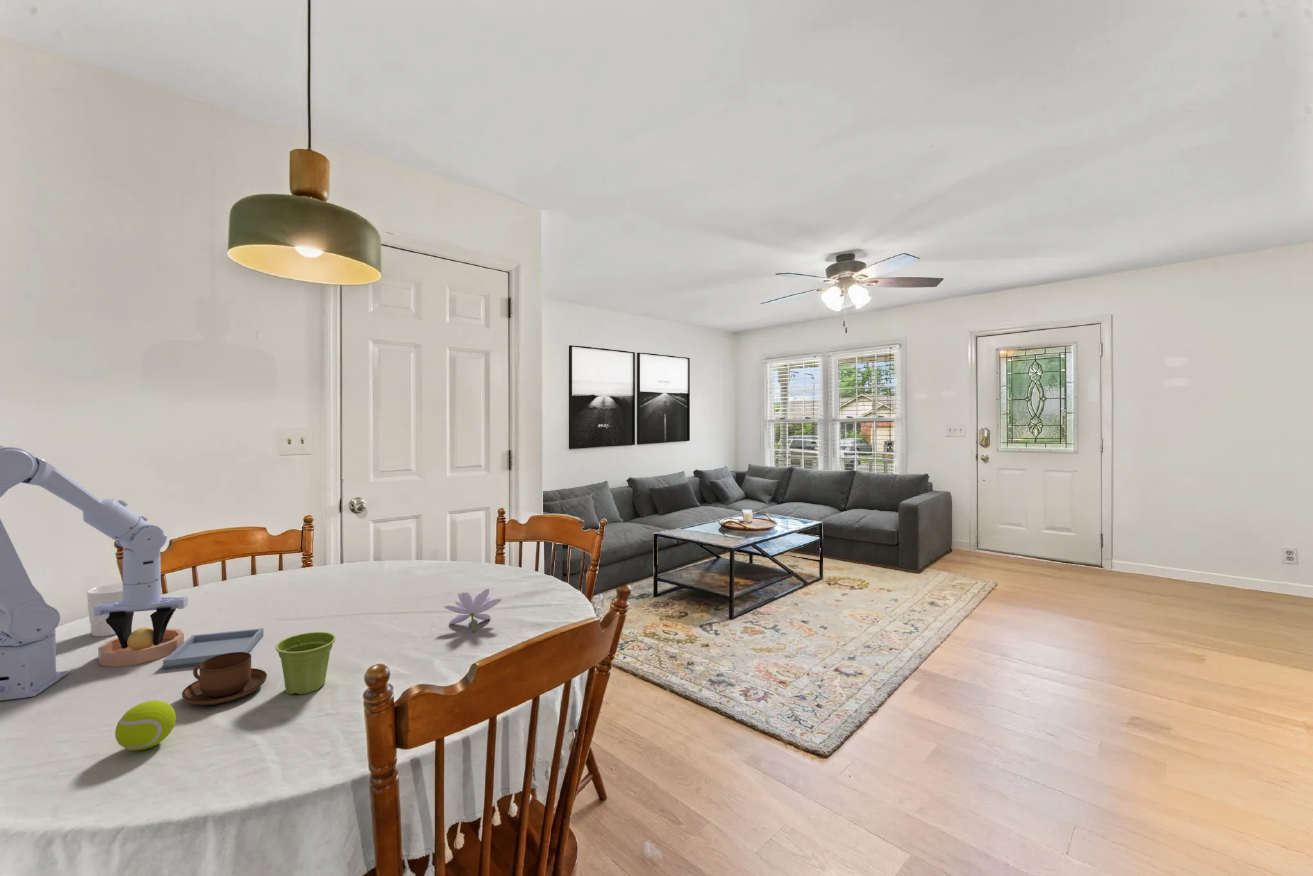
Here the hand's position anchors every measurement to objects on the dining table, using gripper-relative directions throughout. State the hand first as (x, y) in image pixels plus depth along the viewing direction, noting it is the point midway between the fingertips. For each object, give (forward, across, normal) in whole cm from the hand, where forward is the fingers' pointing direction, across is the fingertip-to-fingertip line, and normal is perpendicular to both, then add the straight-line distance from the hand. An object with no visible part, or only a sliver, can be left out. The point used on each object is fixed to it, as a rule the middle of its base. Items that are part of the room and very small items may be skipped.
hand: (142, 645), depth 112 cm
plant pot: (+2, -35, +27) cm, 44 cm away
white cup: (+2, +12, -16) cm, 20 cm away
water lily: (+2, -66, +5) cm, 66 cm away
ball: (-1, 0, 0) cm, 1 cm away
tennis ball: (+2, -17, +40) cm, 44 cm away
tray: (+2, -14, +4) cm, 15 cm away
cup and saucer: (+2, -22, +25) cm, 33 cm away
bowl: (+2, 0, 0) cm, 2 cm away
